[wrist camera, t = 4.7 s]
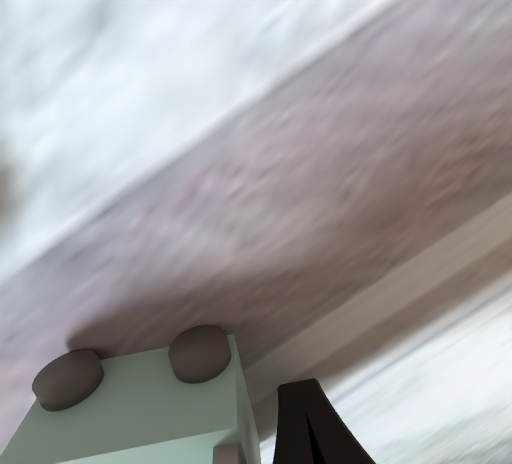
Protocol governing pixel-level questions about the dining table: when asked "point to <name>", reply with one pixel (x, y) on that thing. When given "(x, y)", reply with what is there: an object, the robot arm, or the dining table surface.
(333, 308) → the dining table surface
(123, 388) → the cart
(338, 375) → the dining table surface
